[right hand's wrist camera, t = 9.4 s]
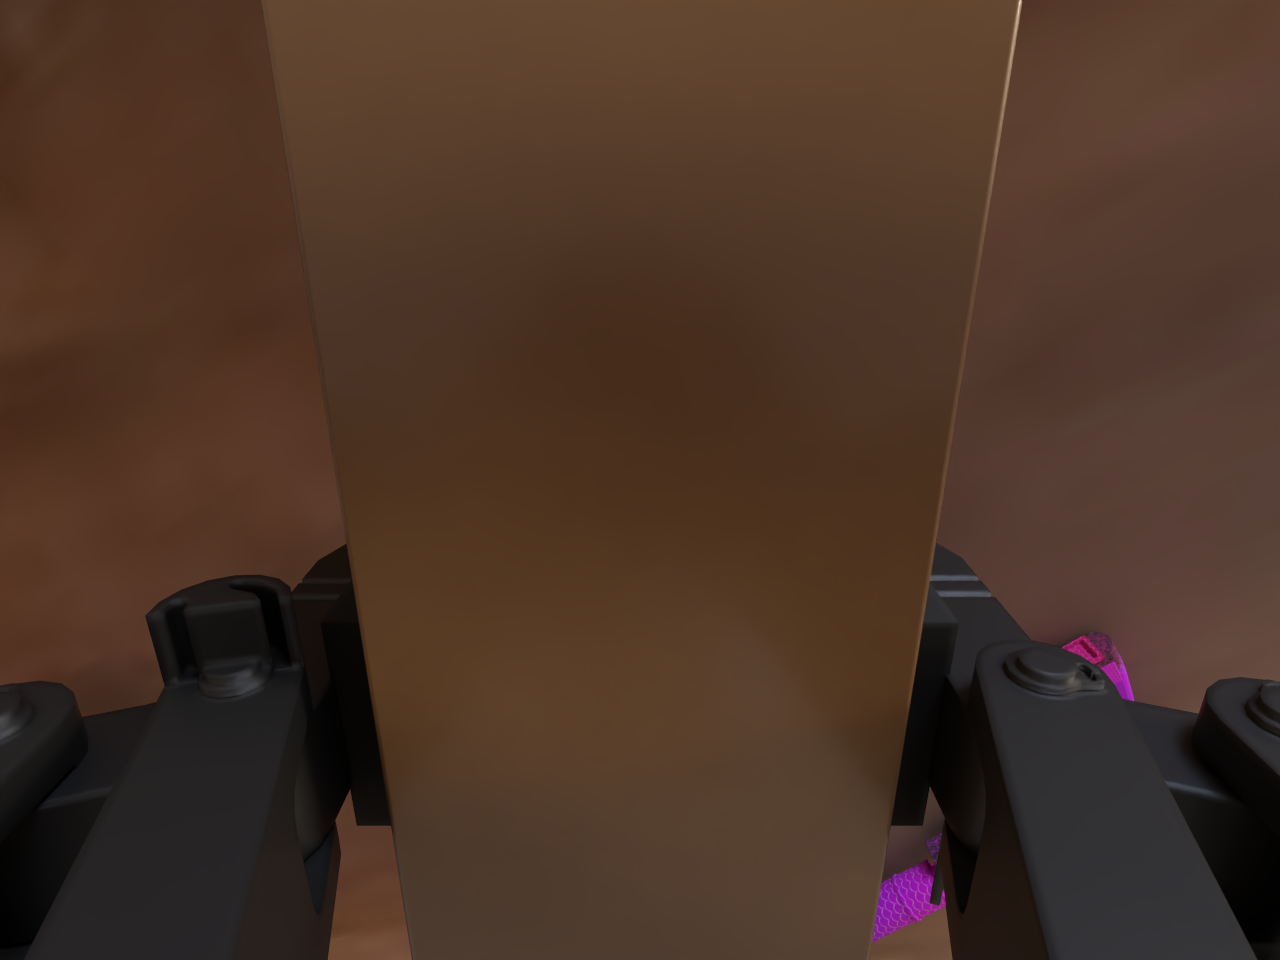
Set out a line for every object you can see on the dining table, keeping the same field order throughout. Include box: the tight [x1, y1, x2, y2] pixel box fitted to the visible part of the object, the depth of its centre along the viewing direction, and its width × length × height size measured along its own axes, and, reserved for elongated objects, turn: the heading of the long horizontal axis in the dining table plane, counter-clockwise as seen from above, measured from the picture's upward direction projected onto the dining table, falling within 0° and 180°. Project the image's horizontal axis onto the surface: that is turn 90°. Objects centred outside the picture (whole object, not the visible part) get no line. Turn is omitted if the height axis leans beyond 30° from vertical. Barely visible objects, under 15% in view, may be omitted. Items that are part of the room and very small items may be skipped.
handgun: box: [872, 632, 1134, 943], centre depth 31 cm, size 21×8×2 cm, turn 129°
